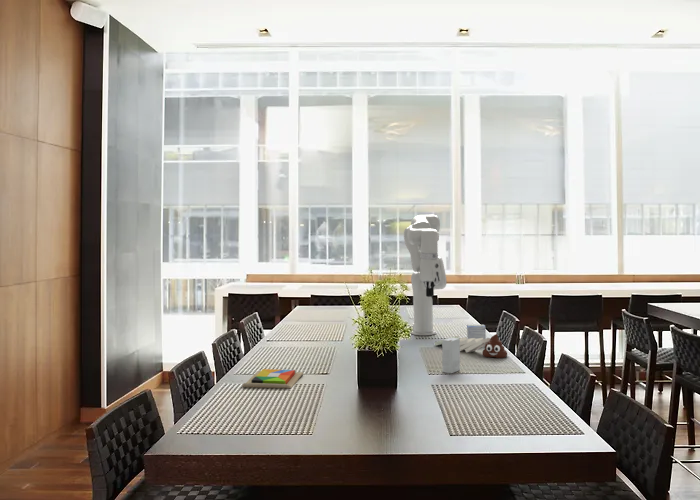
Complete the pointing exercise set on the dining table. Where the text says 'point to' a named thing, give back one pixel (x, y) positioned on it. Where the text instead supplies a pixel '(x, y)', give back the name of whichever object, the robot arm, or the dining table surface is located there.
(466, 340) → the domino
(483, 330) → the medicine box
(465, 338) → the domino
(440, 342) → the domino
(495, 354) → the poop emoji
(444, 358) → the skincare box
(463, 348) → the domino
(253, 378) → the wooden puzzle
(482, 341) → the domino
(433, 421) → the dining table surface
